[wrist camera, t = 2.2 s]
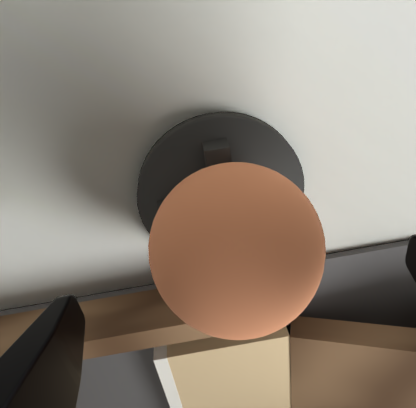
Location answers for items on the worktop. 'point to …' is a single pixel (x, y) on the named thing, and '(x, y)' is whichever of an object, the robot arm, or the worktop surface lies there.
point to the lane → (248, 343)
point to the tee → (211, 155)
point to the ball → (237, 251)
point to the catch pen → (115, 325)
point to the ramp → (351, 364)
